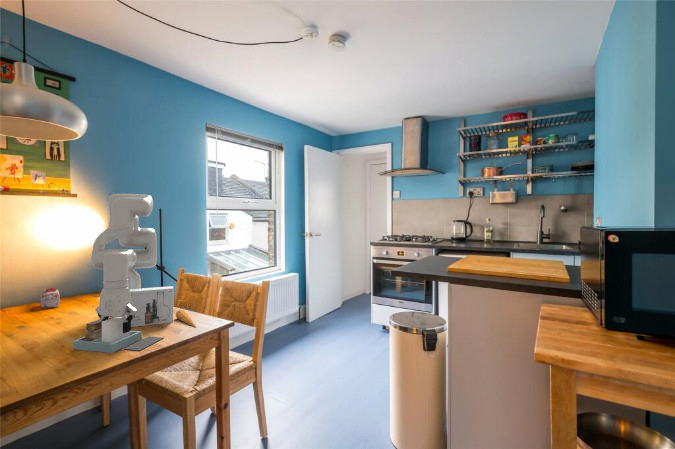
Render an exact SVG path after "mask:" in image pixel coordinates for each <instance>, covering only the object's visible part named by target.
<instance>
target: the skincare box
mask: <svg viewBox="0 0 675 449" xmlns="http://www.w3.org/2000/svg"><path fill="white" fill-rule="evenodd" d="M130 294H131V302H132V306H133V307H134V308H135V309H136V310H137V313H136V315H135V317H134V318H133V320H131V328H135V327H142V326H150V325H151V326H153V325H160V324H169V323H173V322H174V286H172V285H168V286H158V287H157V286H156V287H155V286H153V287H142V288H141V289H130ZM130 314H131V313H130Z"/></svg>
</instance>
